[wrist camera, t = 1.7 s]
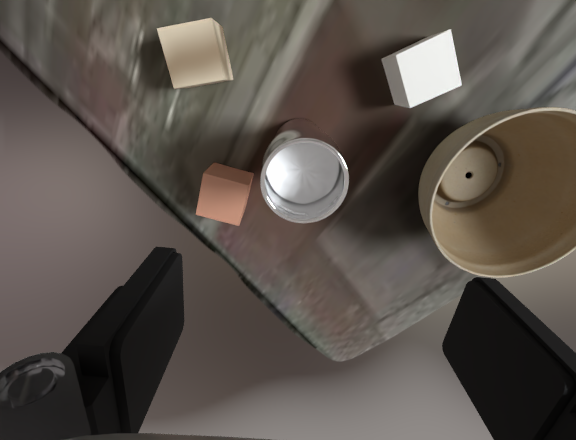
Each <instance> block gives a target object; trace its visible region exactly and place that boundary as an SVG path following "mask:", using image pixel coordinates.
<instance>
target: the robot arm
mask: <svg viewBox="0 0 576 440" xmlns="http://www.w3.org/2000/svg"><path fill="white" fill-rule="evenodd" d="M183 326H184V301H183V270H182V255H181V254H180V253H177V252H176V249H174V248H165V247H156V248H154V249H153V251H152V252H151V253H150V254H149V255H148V257H147V258H146V259H145V260H144V262H143V263H142V264H141V265H140V266H139V268H138V269H137V270H136V272H135V273H134V274H133V275H132V276H131V277H130V279H129V280H128V281H127V282H126V283H125V285H124V286H119V287H118V288H117V289H116V290H115V291H114V292H113V293H112V294H111V295H110V297H109V298H108V299H107V300H106V301H105V302H104V304H103V305H102V306H101V307H100V308H99V309H98V311H97V312H96V313H95V314H94V315H93V316H92V318H91V319H90V320H89V321H88V323H87V324H86V325H85V326H84V327H83V328H82V329H81V331H80V332H79V333H78V334H77V335H76V337H75V338H74V339H73V340H72V341H71V343H70V344H69V345H68V346H67V347H66V348H65V349H64V351H63V352H62V353H54V352H51V353H41V354H37V355H33V356H29V357H27V358H24V359H22V360H20V361H18V362H15V363H14V364H12V365H11V366H9V367H7V368H6V369H4V370H3V371H1V372H0V440H270V439H254V438H253V439H252V438H238V437H222V436H200V435H178V434H155V433H154V434H153V433H145V434H144V433H138V432H139V429H140V427H141V425H142V423H143V420H144V418H145V416H146V414H147V411H148V409H149V406H150V404H151V402H152V400H153V397H154V395H155V393H156V390H157V388H158V386H159V384H160V381H161V379H162V377H163V374H164V372H165V370H166V367H167V365H168V362H169V360H170V358H171V356H172V353H173V351H174V349H175V347H176V344H177V342H178V340H179V337H180V335H181V332H182V330H183ZM442 347H443V352H444V355H445V356H446V358H447V360H448V361H449V363H450V365H451V367H452V368H453V370H454V372H455V373H456V375H457V377H458V379H459V380H460V382H461V384H462V386H463V387H464V389H465V391H466V392H467V394H468V396H469V397H470V399H471V401H472V403H473V404H474V406H475V408H476V409H477V411H478V413H479V415H480V416H481V418H482V420H483V422H484V423H485V425H486V427H487V428H488V430H489V432H490V434H491V435H492V437H493V439H494V440H576V353H575V352H574V351H573V350H572V349H570V347H569V346H567V345H566V344H565V343H564V342H563V341H562V340H561V339H560V338H559V337H558V336H557V335H556V334H555V333H553V332H552V331H551V330H550V329H549V328H548V327H547V326H546V325H545V324H544V323H543V322H542V321H541V320H539V319H538V318H537V317H536V316H535V315H534V314H533V313H532V312H531V311H530V310H529V309H528V308H526V307H525V306H524V305H523V304H522V303H521V302H520V301H519V300H518V299H517V298H516V297H515V296H514V295H513V294H511V293H510V292H509V291H508V290H507V289H506V288H505V287H504V286H503V285H502V284H500V282H499V281H497V280H496V279H491V278H480V277H476V278H474V279H472V281H469V282H468V283H467V284H466V287H465V289H464V292H463V294H462V296H461V299H460V302H459V304H458V306H457V309H456V311H455V314H454V316H453V319H452V321H451V324H450V326H449V328H448V331H447V334H446V336H445V338H444V341H443V345H442Z"/></svg>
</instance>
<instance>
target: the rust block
mask: <svg viewBox="0 0 576 440" xmlns="http://www.w3.org/2000/svg"><path fill="white" fill-rule="evenodd" d="M253 175H254V173H250V172H247V171H243V170H240V169H236V168H232V167H229V166H225V165H222V164H218V163H215V162H214V163H213V164H212V165H211V166H210V167H209V168H208V169H207V170H206V171H205V172H204V173H203V177H202V183H201V188H200V194H199V199H198V205H197V210H196V215H199V216H203V217H207V218H211V219H214V220H218V221H222V222H226V223H230V224H234V225H238V226H239V225H240V222H241V219H242V216H243V214H244V211H245V207H246V203H247V199H248V195H249V191H250V187H251V183H252V179H253Z"/></svg>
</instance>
